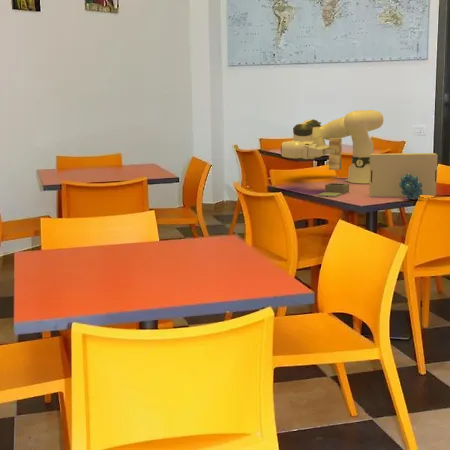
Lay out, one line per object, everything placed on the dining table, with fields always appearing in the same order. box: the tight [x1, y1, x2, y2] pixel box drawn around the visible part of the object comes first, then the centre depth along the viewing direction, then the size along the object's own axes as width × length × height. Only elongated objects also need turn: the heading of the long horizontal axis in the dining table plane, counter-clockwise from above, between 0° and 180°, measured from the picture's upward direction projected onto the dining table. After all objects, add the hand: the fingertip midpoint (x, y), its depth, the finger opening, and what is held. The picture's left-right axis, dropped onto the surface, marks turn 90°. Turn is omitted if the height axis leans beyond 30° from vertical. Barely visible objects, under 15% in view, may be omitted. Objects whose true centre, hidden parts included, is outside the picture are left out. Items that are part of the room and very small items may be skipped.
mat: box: [317, 191, 343, 198], centre depth 326 cm, size 9×9×1 cm
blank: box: [328, 138, 343, 171], centre depth 330 cm, size 4×5×15 cm
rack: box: [324, 182, 350, 195], centre depth 335 cm, size 8×10×4 cm
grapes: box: [399, 173, 423, 201], centre depth 308 cm, size 12×7×12 cm, turn 48°
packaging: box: [368, 152, 439, 198], centre depth 319 cm, size 30×6×20 cm, turn 84°
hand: (337, 151), depth 330 cm, fingers closed on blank, 4 cm apart
